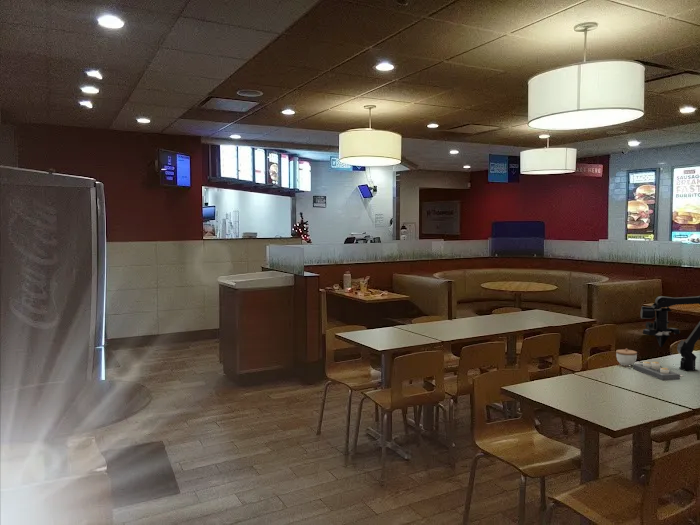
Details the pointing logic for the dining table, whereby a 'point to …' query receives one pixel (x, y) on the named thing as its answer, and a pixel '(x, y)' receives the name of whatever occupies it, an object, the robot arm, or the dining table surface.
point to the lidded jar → (626, 357)
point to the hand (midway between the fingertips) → (661, 346)
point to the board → (656, 372)
